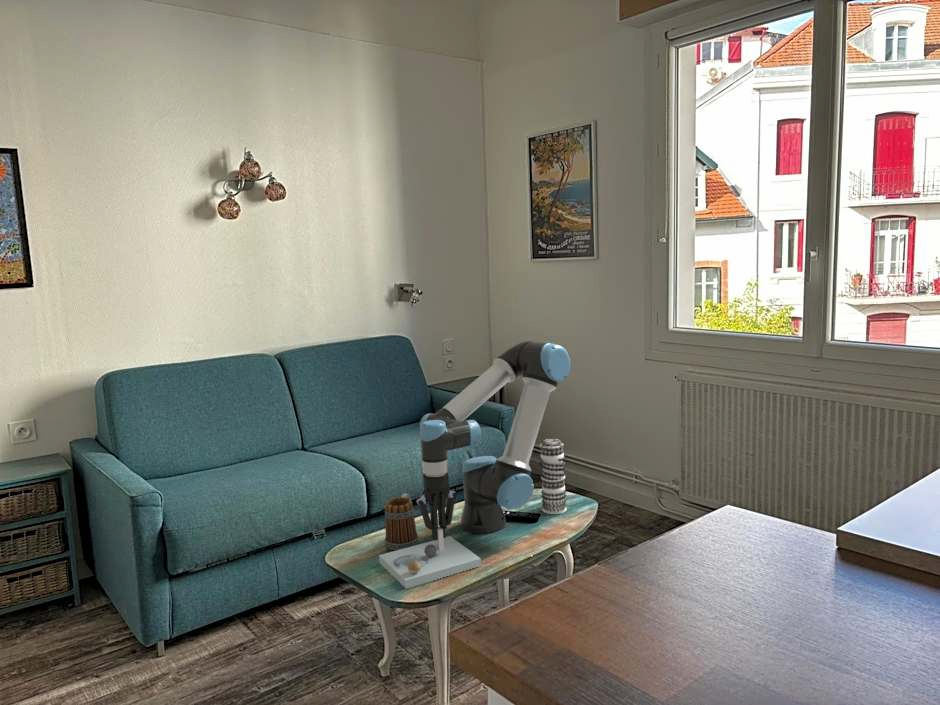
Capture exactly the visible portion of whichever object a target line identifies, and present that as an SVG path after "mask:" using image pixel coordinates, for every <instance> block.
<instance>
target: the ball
mask: <svg viewBox="0 0 940 705" xmlns="http://www.w3.org/2000/svg"><path fill="white" fill-rule="evenodd" d="M424 551H425V554H426V555H427V556H428V557H433V556H434V555H435V554H436V552H437V550H436V547H435V546H434V545H432V544H430V545H427V546H426V547H425V550H424Z"/></svg>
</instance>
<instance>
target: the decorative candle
mask: <svg viewBox="0 0 940 705" xmlns="http://www.w3.org/2000/svg"><path fill="white" fill-rule="evenodd" d="M564 445H565V444H564V443H563V442H562V441H561V440H560V439H557V438H546V439H544V440H543V441H542V442H541V443H540V445H539V446H540V457H538V460H539V463H538V464H539V466H540V468H539V469H540V470H539V471H540V474H539V475H540V479H541V480H542V485H541V489H542V490H541V492H540V493H541V503H542V505H541V507H542V509H541V510H542V512H544V513H545V514H548V515H561V514H564V513H565V512H567V509H568V508H567V499H566V498H567V490H566V485H565V479H566V472H565V470H566V462H564V461H565V460H566V457H565V454H564Z"/></svg>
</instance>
